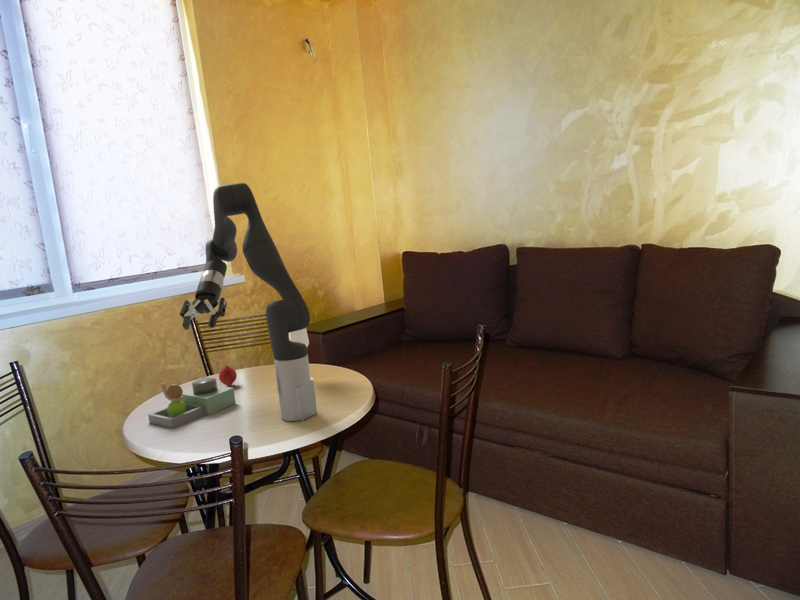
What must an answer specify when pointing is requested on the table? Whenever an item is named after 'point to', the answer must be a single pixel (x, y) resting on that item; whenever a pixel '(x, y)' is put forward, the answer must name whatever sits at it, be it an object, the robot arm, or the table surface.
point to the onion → (227, 375)
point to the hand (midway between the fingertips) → (198, 327)
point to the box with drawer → (197, 403)
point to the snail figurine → (174, 400)
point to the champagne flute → (300, 338)
